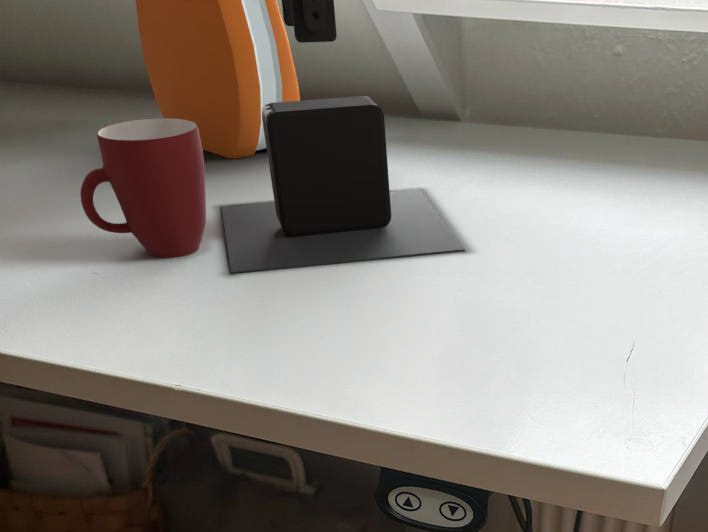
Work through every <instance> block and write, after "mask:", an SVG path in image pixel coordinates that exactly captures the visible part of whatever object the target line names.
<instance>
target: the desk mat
mask: <svg viewBox="0 0 708 532" xmlns="http://www.w3.org/2000/svg"><path fill="white" fill-rule="evenodd" d="M390 204H391V221H390V223H389V224H388V225H387V226H385V227H383V228H376V229H366V230H356V231H347V232H337V233H328V234H318V235H308V236H299V237H291V236H288V235H286V234H285V233H284V231H283V229H282V227H281V225H280V222H279V220H278V218H277V215H276V209H275V202H274V200H273V201H264V202H263V201H262V202H261V201H260V202H250V203H238V204H228V205H221V206H220V207H221V208H220V209H221V214H222V221H223V226H224V227H223V229H224V236H225V243H226V244H225V245H226V250H227V257H228V265H229V272H230V275H239V274H248V273H250V274H251V273H258V272H259V273H260V272H269V271H270V272H271V271H280V270H281V271H282V270H291V269H299V268H309V267H310V268H311V267H322V266H331V265H340V264H341V265H342V264H350V263H351V264H352V263H360V262H361V263H362V262H371V261H382V260H391V259H402V258H412V257H413V258H414V257H423V256H434V255H444V254H455V253H463V252H466V248H465V247H464V246H463V245H462V244H461V242H460V241H459V240H458V238H457V236H455V234H454V232H452V230H451V229H450V227H449V226H448V225H447V223H446V222H445V221H444V219H443V218H442V217H441V215H440V214H439V212H438V211H437V209H436V208H435V207H434V205H432V203H431V202H430V201H429V200H428V198H427V196H425V194H424V193H423V191H422V190H421V189H420V188H416V189H415V188H414V189H405V190H394V191H393V190H392V191H391V190H390Z"/></svg>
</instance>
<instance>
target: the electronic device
mask: <svg viewBox="0 0 708 532" xmlns="http://www.w3.org/2000/svg"><path fill="white" fill-rule="evenodd" d="M262 121H263V127H264V134H265V141H266V148H267V149H266V148H265V149H266V154H267V161H268V168H269V174H270V181H271V182H270V183H271V188H272V196H273V201H274V202H275V209H276V215H277V218H278V220H279V222H280V225H281V227H282V229H283V231H284V233H285V234H286V235H288V236H291V237H299V236H308V235H318V234H328V233H337V232H347V231H356V230H366V229H376V228H383V227H385V226H387V225H388V224H389V223H390V221H391V204H390V192H391V190H390V181H389V180H390V178H389V166H388V165H389V164H388V151H387V136H386V123H385V115H384V111H383V109H382V108H380V106H379V105H378V104H377V103H376V102H374V101H373V100H372V99H371V98H370V97H369V96H365V95H359V96H345V97H332V98H318V99H306V100H305V99H304V100H300V101H289V102H276V103H269V104H267V105H265V107H263V108H262Z"/></svg>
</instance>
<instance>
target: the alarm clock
mask: <svg viewBox="0 0 708 532" xmlns="http://www.w3.org/2000/svg"><path fill="white" fill-rule="evenodd" d="M135 9H136V18H137V19H136V21H137V28H138V29H137V31H138V34H139V39H140V45H141V50H142V55H143V59H144V65H145V69H146V72H147V75H148V79H149V82H150V85H151V89H152V91H153V95H154V98H155V101H156V104H157V106H158V109H159V111H160V113H161V115H162V118H168V119H182V120H188V121H192V122H194V123H196V124H197V126H198V130H199V135H200V140H201V145H202V150H203V151H207V152H209V153H211V154H212V153H213V154H215V155H218V156H221V157H224V158H227V159H241V158H245V157H252V156H254V155H255V153H256V151H260V150H264V149H266V150H267V148H266V141H265V134H264V127H263V121H262V108H263V107H265V105H267V104H269V103H276V102H289V101H301V96H300V88H299V80H298V77H297V71H296V68H295V64H294V60H293V55H292V49H291V46H290V41H289V37H288V35H287V31H286V27H285V23H284V20H283V17H282V15H281V11H280V8H279V4H278V1H277V0H135Z"/></svg>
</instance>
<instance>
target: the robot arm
mask: <svg viewBox="0 0 708 532" xmlns="http://www.w3.org/2000/svg"><path fill="white" fill-rule="evenodd" d="M281 7H282V8H281V9H282V16H283V17H282V19H283V23H284V25H285V26H286V27H293V32H294V39H295V40H296V41H297V42H298V43H300V44H303V43H304V44H305V43H331V42H334V41H336V40H337V38H338V37H337V36H338V35H337V22H336V11H335V0H281Z"/></svg>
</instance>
